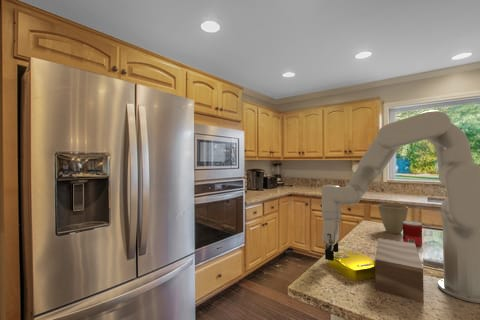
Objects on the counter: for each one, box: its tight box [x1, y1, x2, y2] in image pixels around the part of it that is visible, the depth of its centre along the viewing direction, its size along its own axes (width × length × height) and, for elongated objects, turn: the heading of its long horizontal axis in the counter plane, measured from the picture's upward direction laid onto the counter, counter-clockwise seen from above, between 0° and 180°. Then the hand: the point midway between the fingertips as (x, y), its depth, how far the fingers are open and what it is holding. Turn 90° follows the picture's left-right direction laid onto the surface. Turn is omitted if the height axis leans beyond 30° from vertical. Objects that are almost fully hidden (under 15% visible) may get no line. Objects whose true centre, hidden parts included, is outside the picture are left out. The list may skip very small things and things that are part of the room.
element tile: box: [327, 250, 376, 282], centre depth 91 cm, size 15×15×5 cm
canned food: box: [402, 220, 423, 248], centre depth 117 cm, size 8×8×11 cm
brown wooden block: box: [374, 237, 425, 303], centre depth 83 cm, size 25×12×10 cm, turn 147°
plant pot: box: [378, 203, 409, 235], centre depth 137 cm, size 15×15×16 cm
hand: (332, 255), depth 95 cm, fingers open, 9 cm apart
